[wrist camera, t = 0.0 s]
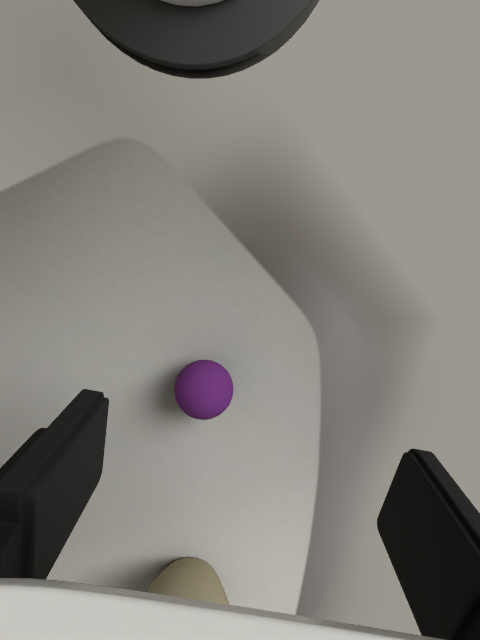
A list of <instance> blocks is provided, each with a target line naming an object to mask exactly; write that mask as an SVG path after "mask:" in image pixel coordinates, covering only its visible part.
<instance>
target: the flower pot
mask: <svg viewBox="0 0 480 640" xmlns="http://www.w3.org/2000/svg"><path fill="white" fill-rule="evenodd" d="M146 592H148V593H154V594H161V595H168V596H174V597H181V598H187V599H194V600H201V601H207V602H214V603H220V604H227V605H229V602H228V599H227V597H226V594H225V591H224V589H223V586H222V584H221V582H220V580H219V578H218V576H217V574H216V573H215V571H214V569H213V568H212V567H211V566H210V565H209V564H208V563H206V562H205V561H203V560H200V559H197V558H181V559H178V560H176V561H174V562H172V563H171V564H170V565H169V566H168V567H167V568H166V569H165V570H164V571H163V572H162V573H161V574H160V575H159V576H158V577H157V578H156V579H155V580H154V582H153V583H152V584H151V585H150V587H149V588H148V589H147V591H146Z"/></svg>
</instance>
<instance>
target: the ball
mask: <svg viewBox="0 0 480 640" xmlns="http://www.w3.org/2000/svg"><path fill="white" fill-rule="evenodd" d="M174 392H175V398H176V401H177V404H178V405H179V407H180V408H181V410H182V411H183V412H184V413H186V414H187V415H188V416H190V417H193V418H196V419H201V420H206V419H211V418H214V417H216V416H218V415H220V414H221V413H222V412H224V411H225V409H226V408H227V407H228V405H229V404H230V402H231V399H232V396H233V383H232V379H231V377H230V375H229V373H228V372H227V370H226V369H225V368H224V367H223V366H221V365H220V364H218V363H216V362H214V361H210V360H199V361H195V362H193V363H191V364H189V365H187V366H186V367H185V368H184V369H183V370H182V371H181V372H180V374H179V375H178V377H177V379H176V383H175V389H174Z"/></svg>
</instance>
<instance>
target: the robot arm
mask: <svg viewBox="0 0 480 640" xmlns="http://www.w3.org/2000/svg"><path fill="white" fill-rule="evenodd" d="M161 1H164V2H168V3H171V4H174V5H181V6H203V5H208V4H214V3H218V2H221V1H223V0H161ZM108 406H109V399H108V398H104V395H103V392H98V391H93V390H87V389H83V390H82V391H81V392H80V393H79V394H78V395H77V396H76V397H75V398H74V399H73V400H72V402H71V403H70V404H69V405H68V406H67V407H66V408H65V409H64V410H63V411H62V412H61V414H60V415H59V416H58V417H57V418H56V419H55V420H54V421H53V422H52V423H51V424H50V426H49V427H48V428H40V429H38V430H37V431H36V432H34V434H33V435H32V436H31V437H30V438H29V439H28V440H27V441H26V442H25V443H24V444H23V445H22V446H21V447H20V448H19V449H18V450H17V451H16V452H15V453H14V454H13V455H12V457H11V458H10V459H9V460H8V461H7V462H6V463H5V464H4V465H3V466H2V467H1V468H0V640H480V513H479V512H478V511H477V509H476V508H475V507H474V506H473V504H472V503H471V502H470V500H469V499H468V498H467V497H466V495H465V494H464V493H463V491H462V490H461V489H460V487H459V486H458V485H457V484H456V482H455V481H454V480H453V478H452V477H451V476H450V475H449V473H448V472H447V471H446V469H445V468H444V467H443V466H442V464H441V463H440V462H439V460H438V459H437V458H436V456H435V455H434V454H433V453H432V452H429V451H423V450H418V449H411V450H409V451H408V452H406V453H404V454H403V456H402V458H401V461H400V463H399V466H398V468H397V471H396V473H395V476H394V478H393V481H392V483H391V486H390V488H389V491H388V493H387V496H386V498H385V501H384V503H383V506H382V508H381V511H380V513H379V516H378V519H377V527H378V531H379V534H380V536H381V538H382V541H383V543H384V546H385V548H386V550H387V553H388V555H389V558H390V560H391V562H392V565H393V567H394V570H395V572H396V574H397V577H398V579H399V582H400V584H401V586H402V589H403V591H404V593H405V596H406V598H407V601H408V603H409V606H410V608H411V610H412V613H413V615H414V618H415V620H416V623H417V625H418V627H419V630H420V632H421V635H422V636H420V635H414V634H408V633H402V632H396V631H390V630H384V629H378V628H371V627H366V626H360V625H353V624H347V623H341V622H335V621H328V620H322V619H316V618H310V617H303V616H297V615H291V614H284V613H278V612H272V611H265V610H259V609H253V608H246V607H240V606H234V605H227V604H220V603H214V602H207V601H201V600H194V599H187V598H181V597H174V596H168V595H161V594H154V593H148V592H141V591H135V590H128V589H120V588H112V587H105V586H97V585H90V584H82V583H75V582H67V581H57V580H46V578H47V576H48V574H49V572H50V571H51V569H52V567H53V565H54V563H55V561H56V560H57V558H58V556H59V554H60V552H61V550H62V549H63V547H64V545H65V543H66V541H67V539H68V538H69V536H70V534H71V532H72V530H73V528H74V526H75V525H76V523H77V521H78V519H79V517H80V515H81V514H82V512H83V510H84V508H85V506H86V504H87V503H88V501H89V499H90V497H91V495H92V493H93V492H94V490H95V488H96V486H97V484H98V482H99V480H100V477H101V473H102V467H103V457H104V447H105V437H106V426H107V416H108Z"/></svg>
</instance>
